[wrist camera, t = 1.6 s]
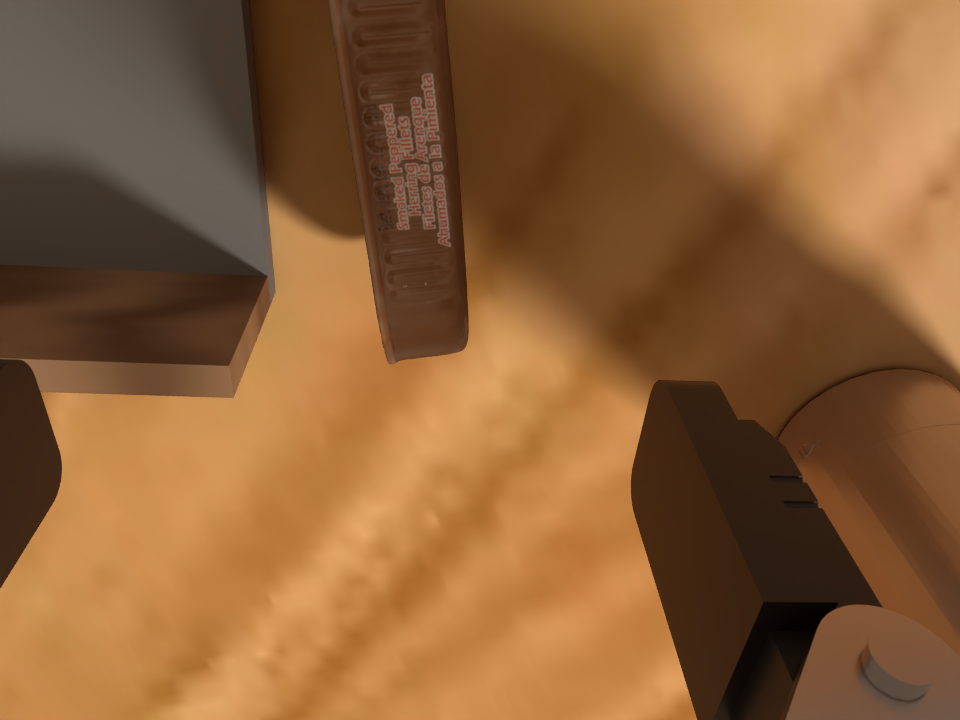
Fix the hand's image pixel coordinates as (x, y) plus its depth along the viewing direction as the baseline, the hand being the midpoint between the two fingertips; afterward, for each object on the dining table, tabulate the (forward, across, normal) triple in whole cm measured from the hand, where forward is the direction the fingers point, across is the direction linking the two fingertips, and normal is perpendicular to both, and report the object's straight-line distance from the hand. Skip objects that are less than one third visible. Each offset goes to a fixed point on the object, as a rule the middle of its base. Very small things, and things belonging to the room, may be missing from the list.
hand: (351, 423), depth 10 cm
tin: (+18, 0, 0) cm, 18 cm away
